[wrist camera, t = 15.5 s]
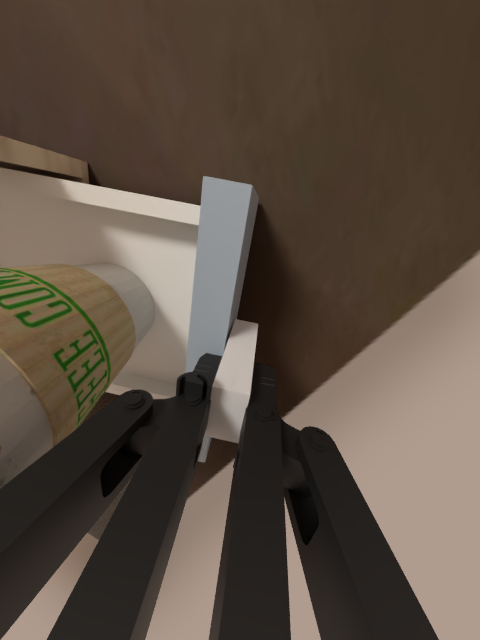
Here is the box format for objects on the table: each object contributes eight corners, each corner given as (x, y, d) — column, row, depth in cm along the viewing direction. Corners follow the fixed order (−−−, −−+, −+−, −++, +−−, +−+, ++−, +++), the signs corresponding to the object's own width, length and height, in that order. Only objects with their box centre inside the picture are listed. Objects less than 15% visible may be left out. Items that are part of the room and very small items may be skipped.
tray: (24, 355, 23) (-57, 401, 17) (-30, 143, 16) (-200, 100, 10) (221, 400, 22) (204, 462, 16) (259, 197, 15) (252, 185, 9)
